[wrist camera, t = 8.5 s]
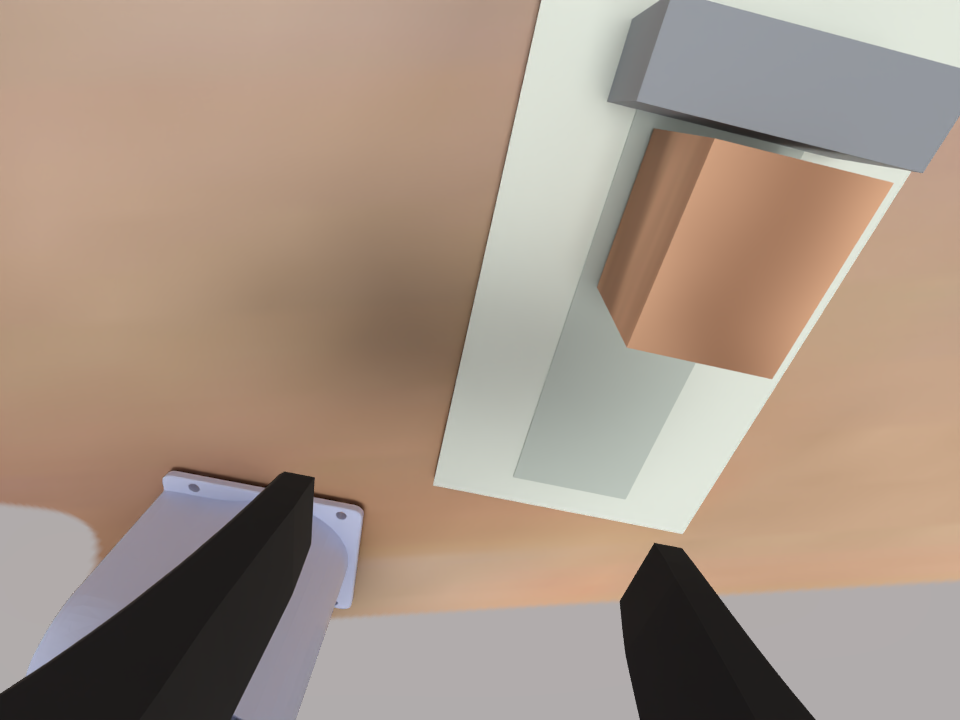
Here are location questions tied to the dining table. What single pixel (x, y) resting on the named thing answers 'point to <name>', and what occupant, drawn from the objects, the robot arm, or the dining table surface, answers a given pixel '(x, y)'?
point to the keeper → (730, 250)
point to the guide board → (600, 206)
